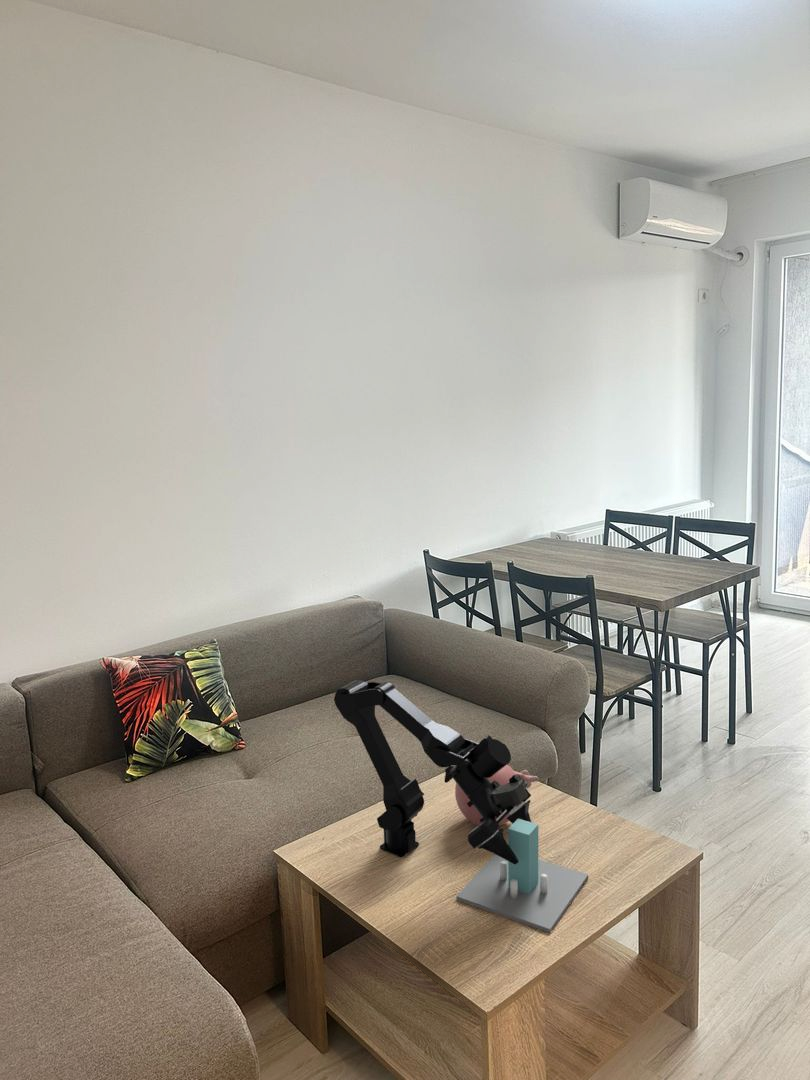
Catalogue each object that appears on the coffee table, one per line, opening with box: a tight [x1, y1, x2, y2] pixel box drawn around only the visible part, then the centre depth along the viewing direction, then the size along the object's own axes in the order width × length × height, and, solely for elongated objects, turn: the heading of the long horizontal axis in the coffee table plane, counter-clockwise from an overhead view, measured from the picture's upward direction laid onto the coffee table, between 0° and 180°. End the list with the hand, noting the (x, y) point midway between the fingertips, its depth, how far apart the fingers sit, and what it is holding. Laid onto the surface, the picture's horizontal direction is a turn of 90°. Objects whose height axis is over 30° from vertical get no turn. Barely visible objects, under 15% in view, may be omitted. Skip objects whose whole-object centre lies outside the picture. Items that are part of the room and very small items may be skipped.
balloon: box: [454, 764, 540, 827], centre depth 192 cm, size 15×20×15 cm
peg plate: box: [455, 853, 589, 934], centre depth 168 cm, size 20×20×4 cm
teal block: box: [507, 819, 539, 894], centre depth 167 cm, size 4×4×13 cm
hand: (526, 851), depth 166 cm, fingers open, 9 cm apart
